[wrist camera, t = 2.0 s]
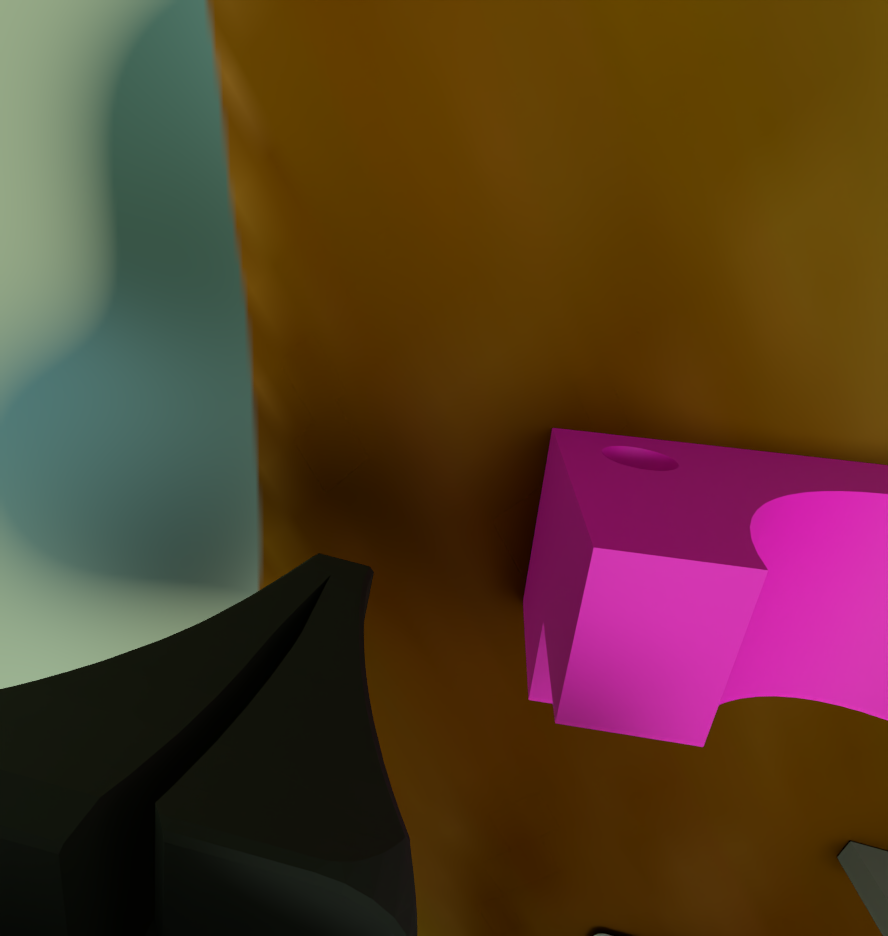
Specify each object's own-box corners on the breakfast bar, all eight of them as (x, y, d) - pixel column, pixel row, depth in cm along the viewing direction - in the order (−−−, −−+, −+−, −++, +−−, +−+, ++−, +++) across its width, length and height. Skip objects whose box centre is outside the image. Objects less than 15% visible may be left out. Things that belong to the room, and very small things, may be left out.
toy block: (522, 598, 17) (535, 814, 10) (551, 426, 15) (594, 547, 8) (986, 664, 16) (1373, 963, 9) (1093, 486, 14) (1721, 694, 7)
